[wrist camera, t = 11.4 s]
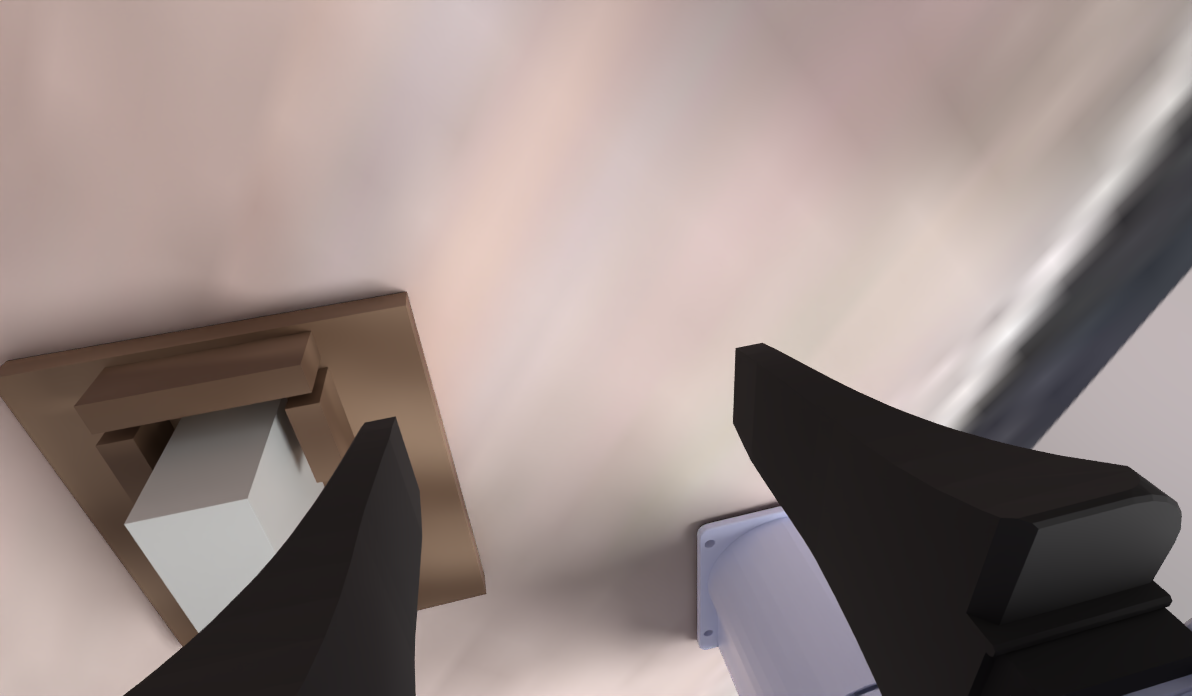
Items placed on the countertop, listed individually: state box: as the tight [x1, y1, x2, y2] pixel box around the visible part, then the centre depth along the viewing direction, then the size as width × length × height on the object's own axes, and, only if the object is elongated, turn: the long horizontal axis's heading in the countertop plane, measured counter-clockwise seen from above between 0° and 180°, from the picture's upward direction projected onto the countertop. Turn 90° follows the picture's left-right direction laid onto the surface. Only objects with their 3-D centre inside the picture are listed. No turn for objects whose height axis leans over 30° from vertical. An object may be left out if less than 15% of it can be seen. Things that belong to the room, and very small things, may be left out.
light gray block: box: [124, 397, 324, 633], centre depth 21 cm, size 10×3×5 cm, turn 5°
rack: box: [0, 292, 486, 647], centre depth 23 cm, size 14×12×3 cm
